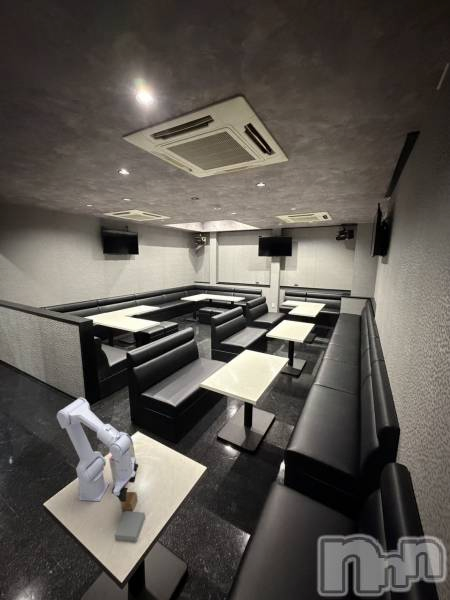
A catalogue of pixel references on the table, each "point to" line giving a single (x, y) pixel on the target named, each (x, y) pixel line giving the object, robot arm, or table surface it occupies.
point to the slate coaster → (130, 526)
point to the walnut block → (129, 502)
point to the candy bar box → (113, 465)
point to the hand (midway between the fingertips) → (127, 491)
